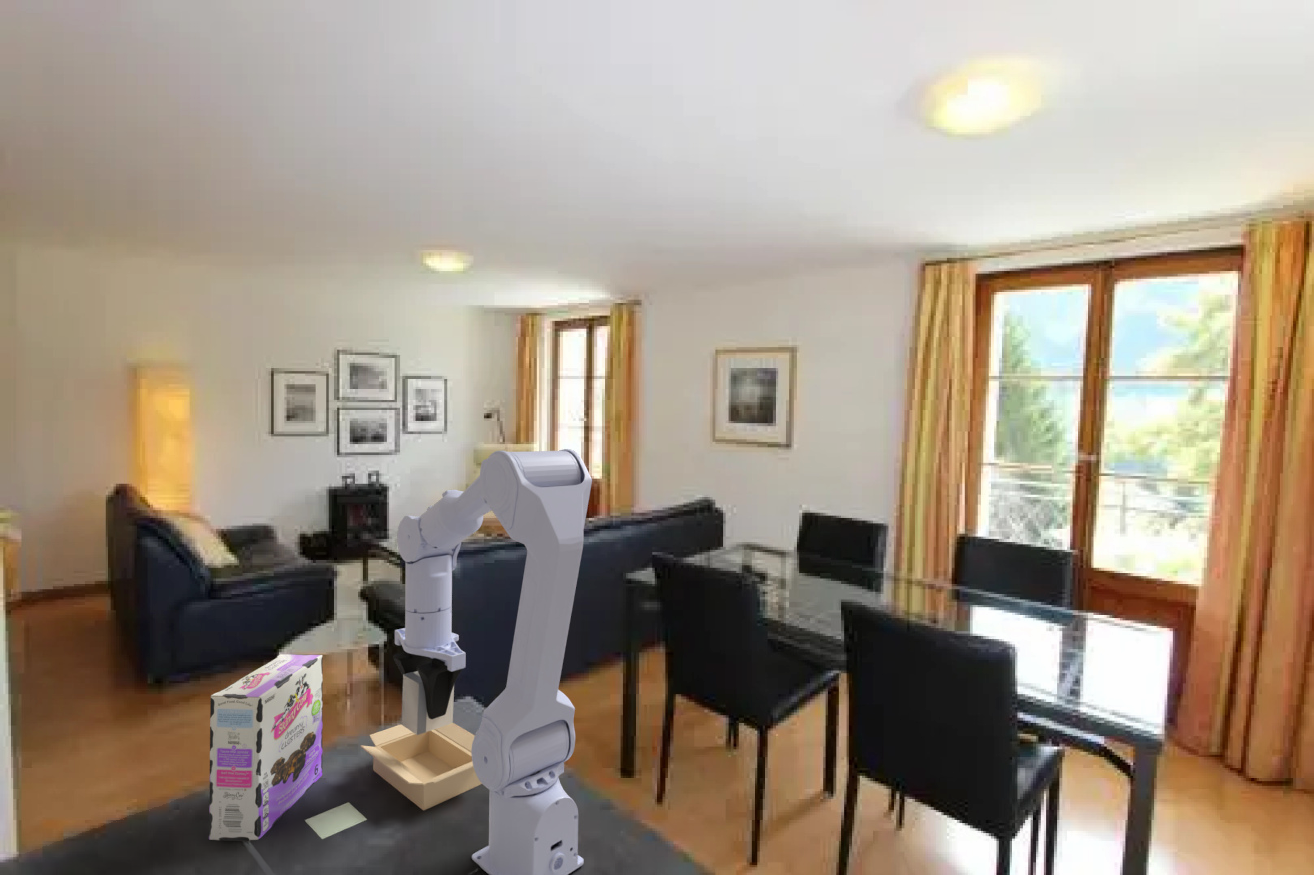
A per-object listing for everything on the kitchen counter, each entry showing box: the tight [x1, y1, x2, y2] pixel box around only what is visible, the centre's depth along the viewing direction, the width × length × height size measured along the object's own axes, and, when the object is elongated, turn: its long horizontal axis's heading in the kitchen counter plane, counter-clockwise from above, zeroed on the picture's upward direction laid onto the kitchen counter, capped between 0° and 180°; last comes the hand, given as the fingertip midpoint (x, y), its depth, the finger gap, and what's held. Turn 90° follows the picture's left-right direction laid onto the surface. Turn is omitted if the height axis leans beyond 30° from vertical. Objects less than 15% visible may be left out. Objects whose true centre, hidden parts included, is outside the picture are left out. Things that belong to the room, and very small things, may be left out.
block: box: [401, 671, 455, 735], centre depth 86 cm, size 5×4×7 cm
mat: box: [304, 802, 368, 840], centre depth 77 cm, size 5×5×1 cm
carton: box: [359, 722, 483, 811], centre depth 86 cm, size 12×17×4 cm
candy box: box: [208, 653, 324, 843], centre depth 80 cm, size 14×6×16 cm, turn 179°
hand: (428, 710), depth 86 cm, fingers closed on block, 4 cm apart
